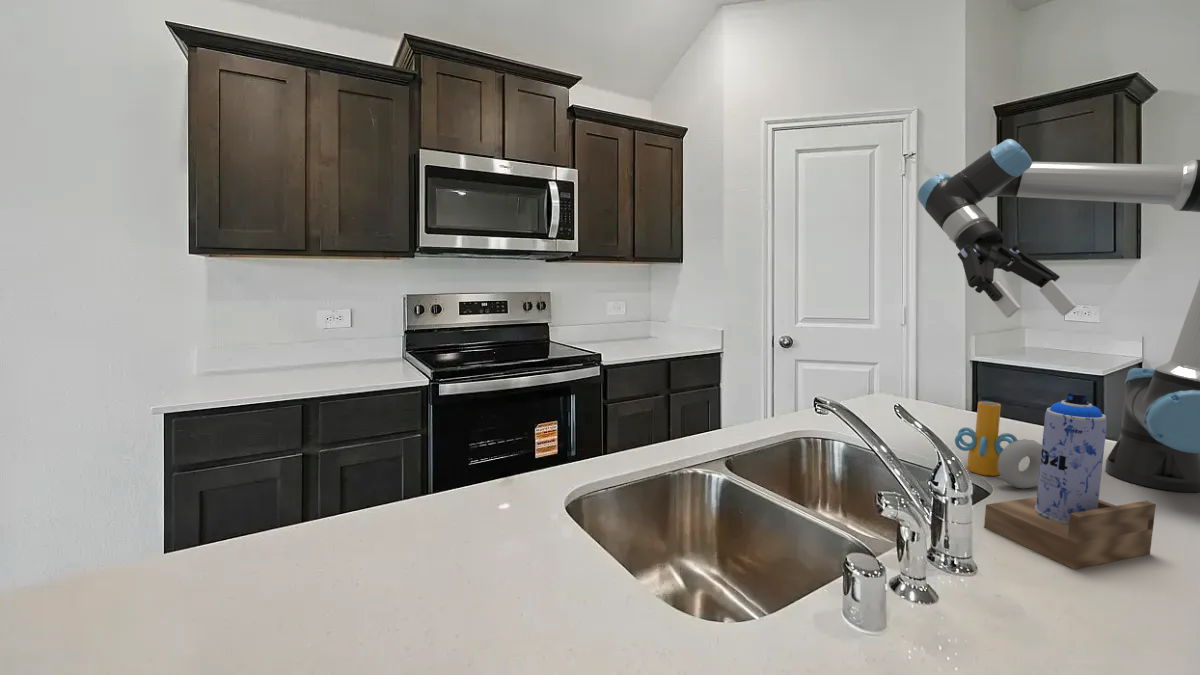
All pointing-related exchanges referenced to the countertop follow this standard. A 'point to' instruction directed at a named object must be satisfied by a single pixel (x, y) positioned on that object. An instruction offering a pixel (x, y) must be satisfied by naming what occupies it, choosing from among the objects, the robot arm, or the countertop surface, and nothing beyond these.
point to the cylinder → (984, 440)
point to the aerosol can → (1071, 459)
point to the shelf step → (1077, 531)
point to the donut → (1012, 458)
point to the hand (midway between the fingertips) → (1042, 311)
